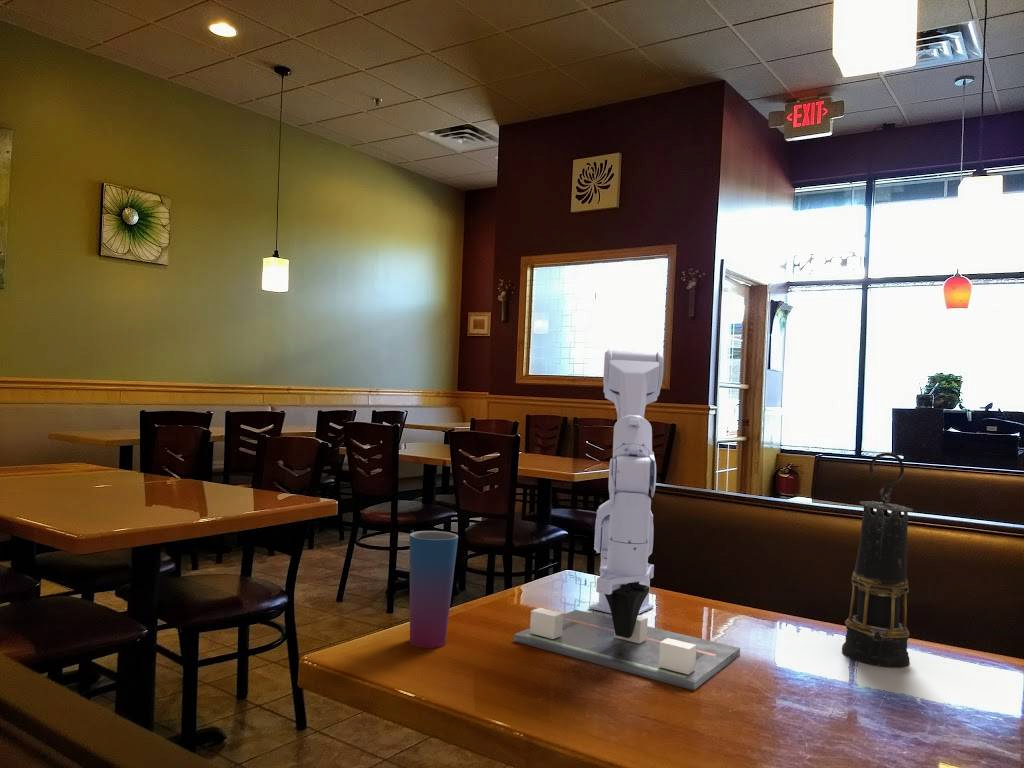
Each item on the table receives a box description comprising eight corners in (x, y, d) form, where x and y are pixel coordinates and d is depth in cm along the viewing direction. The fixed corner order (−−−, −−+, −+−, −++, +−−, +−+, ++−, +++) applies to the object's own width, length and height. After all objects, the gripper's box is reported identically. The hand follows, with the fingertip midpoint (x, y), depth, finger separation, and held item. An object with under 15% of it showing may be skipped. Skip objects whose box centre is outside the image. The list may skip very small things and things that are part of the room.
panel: (575, 615, 124) (575, 609, 124) (739, 654, 109) (740, 647, 109) (513, 641, 109) (514, 634, 109) (694, 690, 94) (694, 682, 94)
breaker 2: (666, 662, 101) (667, 637, 101) (695, 669, 98) (696, 644, 98) (658, 666, 99) (660, 642, 99) (688, 674, 96) (689, 649, 96)
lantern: (876, 669, 106) (886, 454, 106) (827, 648, 114) (836, 449, 115) (924, 665, 109) (933, 456, 110) (872, 644, 118) (881, 450, 118)
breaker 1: (538, 629, 112) (539, 607, 112) (562, 635, 110) (563, 613, 110) (529, 632, 110) (530, 610, 110) (553, 639, 108) (554, 616, 108)
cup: (449, 651, 103) (455, 541, 103) (399, 648, 103) (406, 538, 104) (454, 636, 110) (460, 532, 110) (407, 633, 110) (413, 529, 110)
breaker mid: (621, 633, 112) (622, 611, 112) (646, 639, 110) (647, 617, 110) (614, 637, 110) (615, 615, 110) (639, 643, 108) (640, 621, 108)
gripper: (625, 530, 117) (620, 619, 116) (579, 542, 105) (573, 641, 104) (668, 537, 113) (663, 629, 112) (625, 550, 101) (620, 653, 100)
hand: (623, 636), depth 108 cm, fingers closed
